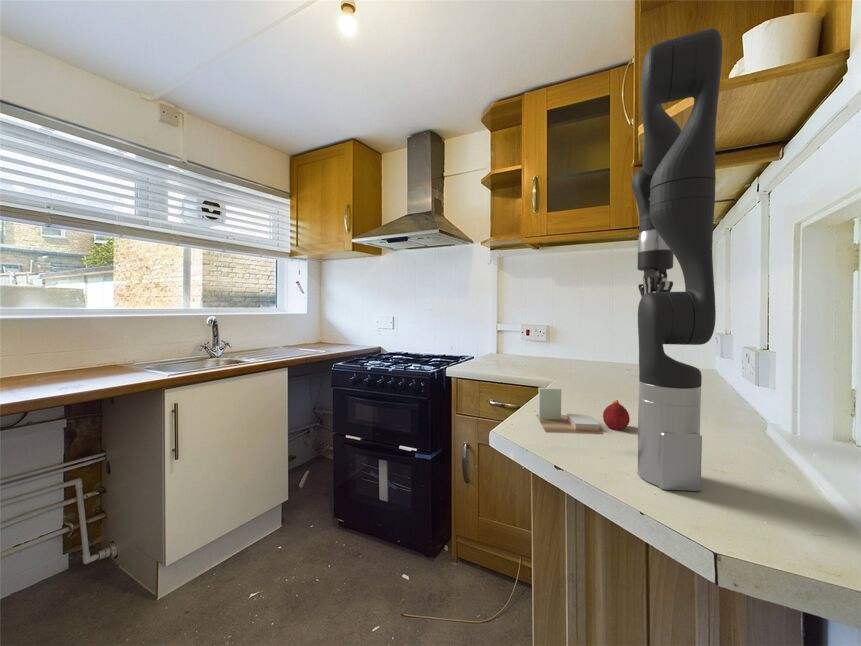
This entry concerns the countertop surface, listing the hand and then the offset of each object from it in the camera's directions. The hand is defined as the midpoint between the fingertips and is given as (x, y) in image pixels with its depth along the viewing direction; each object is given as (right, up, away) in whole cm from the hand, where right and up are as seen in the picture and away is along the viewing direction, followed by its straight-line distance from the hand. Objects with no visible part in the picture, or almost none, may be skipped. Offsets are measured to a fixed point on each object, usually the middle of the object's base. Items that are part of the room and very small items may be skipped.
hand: (653, 320), depth 91 cm
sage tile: (-24, -26, +6) cm, 36 cm away
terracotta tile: (-17, -25, +4) cm, 31 cm away
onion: (-10, -27, -1) cm, 29 cm away
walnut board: (-21, -27, +2) cm, 34 cm away
